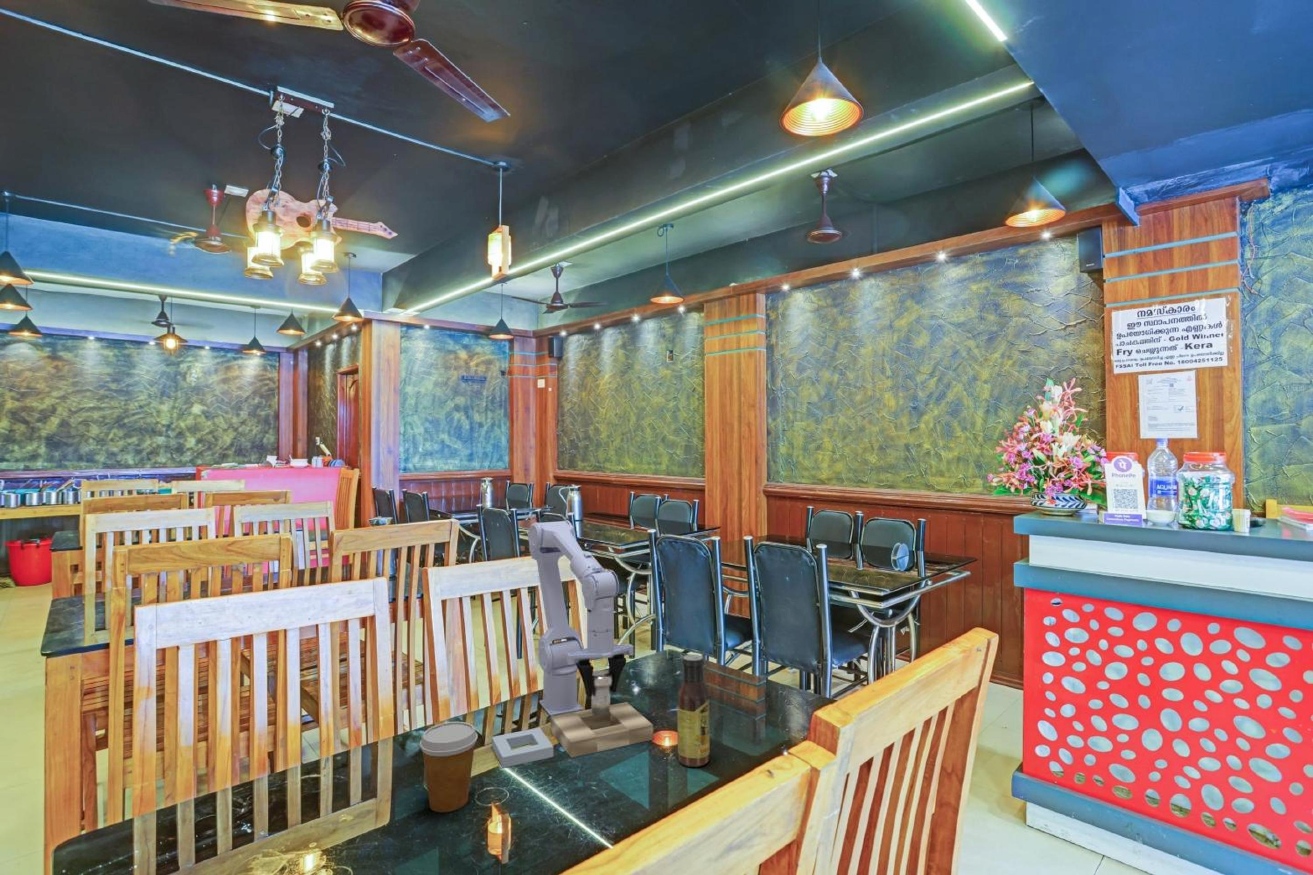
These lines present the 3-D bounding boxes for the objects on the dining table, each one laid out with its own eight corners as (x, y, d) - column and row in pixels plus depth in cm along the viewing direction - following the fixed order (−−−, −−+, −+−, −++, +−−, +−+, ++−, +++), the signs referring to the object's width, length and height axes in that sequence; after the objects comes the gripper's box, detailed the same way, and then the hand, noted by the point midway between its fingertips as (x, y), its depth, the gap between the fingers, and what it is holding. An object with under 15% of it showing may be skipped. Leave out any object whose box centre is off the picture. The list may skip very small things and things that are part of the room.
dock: (550, 730, 138) (550, 716, 138) (626, 715, 146) (626, 701, 146) (571, 757, 125) (571, 742, 125) (653, 739, 133) (653, 724, 133)
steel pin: (585, 709, 137) (586, 671, 137) (607, 705, 139) (607, 668, 139) (593, 718, 132) (594, 679, 132) (615, 714, 134) (616, 675, 135)
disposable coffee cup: (474, 783, 115) (475, 717, 116) (480, 810, 106) (480, 738, 107) (419, 794, 112) (419, 725, 112) (419, 823, 103) (420, 748, 103)
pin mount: (491, 746, 130) (491, 736, 130) (539, 736, 135) (539, 727, 135) (502, 767, 121) (502, 757, 121) (553, 756, 126) (553, 746, 126)
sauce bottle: (707, 770, 120) (706, 663, 120) (675, 767, 121) (674, 662, 122) (711, 754, 126) (710, 653, 127) (680, 751, 127) (679, 651, 128)
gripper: (574, 637, 129) (574, 705, 129) (639, 628, 136) (639, 693, 135) (563, 629, 136) (563, 693, 135) (625, 621, 142) (626, 682, 142)
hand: (600, 692), depth 136 cm, fingers closed on steel pin, 5 cm apart
